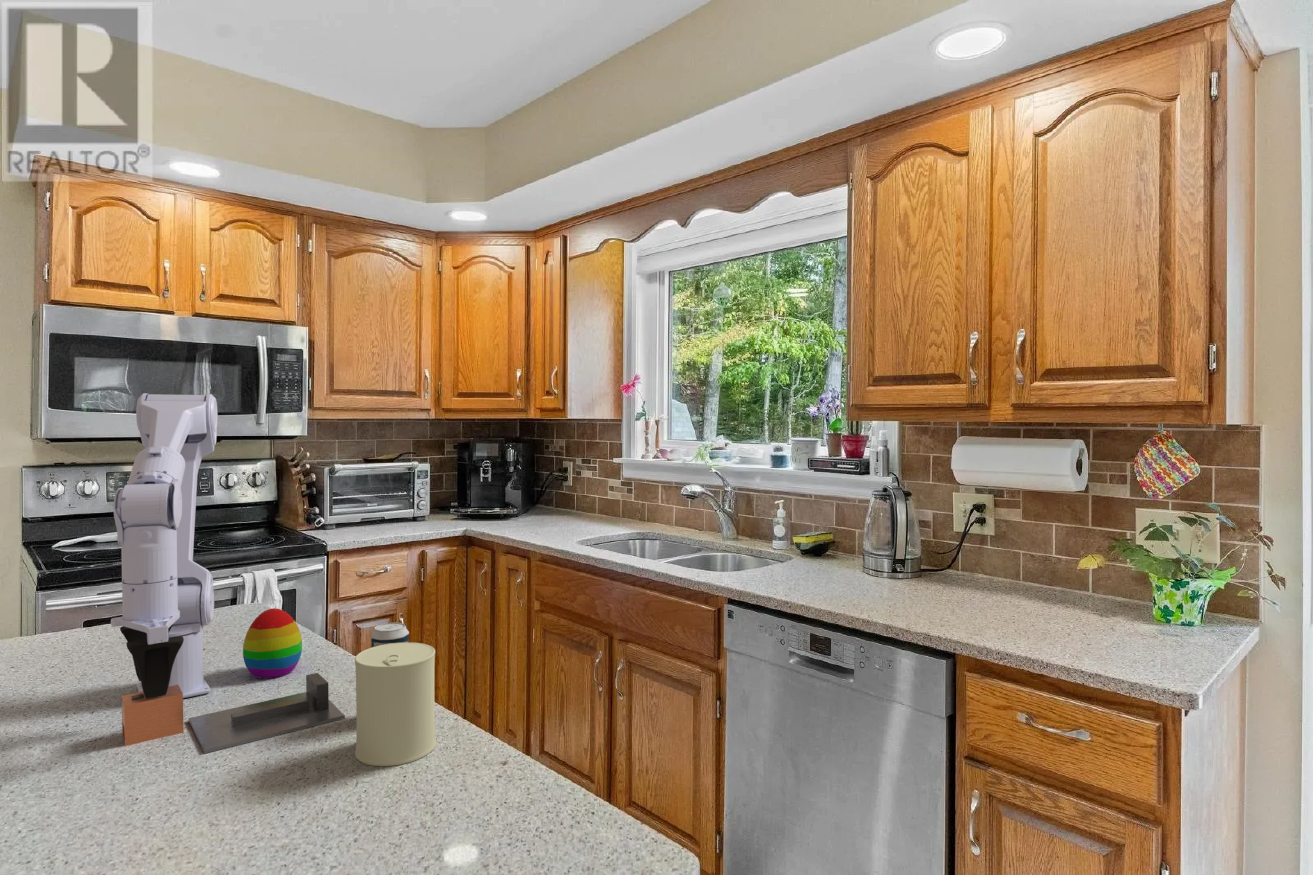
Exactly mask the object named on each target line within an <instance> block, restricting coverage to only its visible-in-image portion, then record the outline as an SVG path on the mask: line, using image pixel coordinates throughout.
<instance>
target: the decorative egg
mask: <svg viewBox="0 0 1313 875" xmlns="http://www.w3.org/2000/svg"><path fill="white" fill-rule="evenodd" d="M302 652H303V638H302V634H301V630H300V628H299V626H298V624H297V622H296V621H295V619H294V618H293V617H292V616H291V615H290V614H289V613H287V611H285V610H282V609H280V608H275V607H274V608H269V609H267V610H264V611H262V612H261V613H260V614H259V615H258V616H257V617H255V619H254V620H253V621H252V622H251V624H250V625H249V628H248V630H247V631H246V634H245V636H244V639H243V646H242V658H243V662H244V665H245V667H246V669H247V671H248V672H249V673H250V675H252V676H253V677H255V678H256V679H275V678H280V677H283V676H287V675H289V674H290V673H292V671H294V670H295V668H296V667H297V665H298V664H299V661H300V659H301V656H302Z"/></svg>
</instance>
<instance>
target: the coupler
mask: <svg viewBox="0 0 1313 875" xmlns="http://www.w3.org/2000/svg"><path fill="white" fill-rule="evenodd" d="M305 677H306V678H305V683H306V684H305V687H306V688H305V691H304V692H300V693H295V694H290V695H287V696H283V697H277V698H273V699H272V698H271V699H269V700H263V701H259V702H254V703H250V704H247V705H246V704H245V705H241V706H237V707H233V708H228V709H224V710H220V711H219V710H218V711H215V712H211V713H207V714H201V715H196V716H192V717H189V718H187V719H188V723H189V725H190V727H191V730H192V731H193V733H194V735H195V738H196V739H197V742H198V744H199V746H200V747H201V750H202V752H203V754H210V753H213V752H216V751H221V750H225V749H228V748H233V747H236V746H240V745H244V744H247V743H248V744H249V743H251V742H257V741H260V740H264V739H268V738H273V737H275V736H280V735H284V734H288V733H292V732H295V731H299V730H304V729H308V728H312V727H316V726H319V725H324V724H328V723H331V722H336V721H340V720H344V719H345V716H346V715H345V714H344V713H343V712H342V711H341V710H340V709H339V708H338V707H337V706H336V705H335V704H333V702H332V701H331V700H330V698H329V697H330V696H329V682H328V680H326V679H325V678H324V677H323V676H322V675H321V674H320V673H319V672H315V673H310V674H306V675H305Z"/></svg>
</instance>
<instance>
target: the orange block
mask: <svg viewBox="0 0 1313 875" xmlns="http://www.w3.org/2000/svg"><path fill="white" fill-rule="evenodd" d="M183 733H184V698H183V693H182V691H181V689H180V687H179V685H174V686H168V690H167V693H166V695H164V696H159V697H154V698H149V699H146V697H145V695H144V692H138V691H137V692H133V693H129V694H124V695H123V694H122V695H121V734H122V737H124V746H125V747H127V746H131V745H137V744H140V743H145V742H149V741H153V740H154V741H155V740H158V739H162V738H166V737H170V736H174V735H179V734H183Z"/></svg>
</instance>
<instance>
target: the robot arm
mask: <svg viewBox="0 0 1313 875" xmlns="http://www.w3.org/2000/svg"><path fill="white" fill-rule="evenodd" d="M217 403H218V402H217V398H216V397H215V396H214V395H213V394H211V393H207V394H153V393H152V394H151V393H150V394H149V393H147V392H146V393H145V392H144V393H142V394H141V396H140V395H139V397H138V398H137V401H136V408H135V410H136V411H135V413H136V415H135V418H136V426H137V429H138V431H139V435H140V439H141V443H142V446H143V447H144V449H142V450H141V451H139V452H138V453H137V455H136V456H135V458H134V462H133V465H132V468H131V472H130V474H129V478H128V481H127V483H126V484H125V485H124V487H123V488H122V489H121V488H118V489H117V490H116V492H115V494H114V500H113V518H114V523H115V527H116V534H117V536H116V538H117V545H118V546H121V549H120V550H121V590H122V592H121V595H122V596H121V599H122V601H121V602H122V604H121V605H122V616H118V617H112V618H111V619H110V625H111V627H114V628H116V627H120V628H119V630H120V632H121V634H122V635H123V636H124V638H125V640H126V644H125V645H126V647H127V650H128V651H129V654H130V655H131V656H132V661H133V665H134V670H135V674H136V677H137V679H138V682H140V683H137V684H136V688H137V693H138V692H144V695H145V697H146V699H149V698H154V697H159V696H164V695H166V693H167V690H168V686H174V685H179V687H180V689H181V691H182V693H183V699H185V698H191V697H195V696H199V695H200V696H201V695H206V694H209V693H210V692H212V691H211V690H212V689H211V687H210V686H209V684H208V683H207V681H206V679H205V678H204V645H203V642H204V641H203V640H204V638H203V635H204V634H203V632H204V631H203V628H204V626H208V625H209V624H210V623H212V621H213V620H214V619H213V618H214V613H215V612H214V611H215V592H214V578H213V575H212V574H211V571H210V570H208V568H205V567H204V566H202V565H200V564H198V563H197V562H195V561H194V546H195V545H194V544H195V543H194V541H195V529H196V528H195V526H196V525H195V524H196V523H195V522H196V508H197V505H196V504H197V492H198V491H197V490H198V489H197V487H198V474H199V470H200V466H201V462H202V459H203V458H204V457H206V456H208V455H210V454H211V453H213V452H214V451H215V446H216V445H217V436H218V435H217V433H218V432H217V431H218V404H217Z"/></svg>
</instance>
